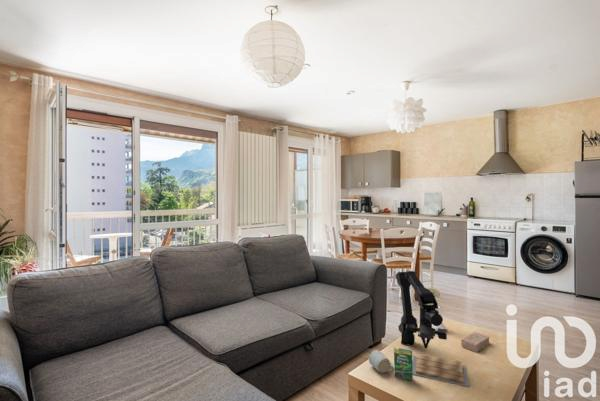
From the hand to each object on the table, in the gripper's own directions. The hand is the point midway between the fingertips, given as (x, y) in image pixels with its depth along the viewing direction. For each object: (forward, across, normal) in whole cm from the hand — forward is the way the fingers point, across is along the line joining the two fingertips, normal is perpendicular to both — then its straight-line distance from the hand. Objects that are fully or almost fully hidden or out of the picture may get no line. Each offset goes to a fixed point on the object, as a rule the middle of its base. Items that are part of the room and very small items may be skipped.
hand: (425, 348), depth 154 cm
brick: (+8, +24, +29) cm, 39 cm away
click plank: (+6, +6, -2) cm, 9 cm away
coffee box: (+8, -9, -17) cm, 21 cm away
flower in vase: (+7, +4, +43) cm, 43 cm away
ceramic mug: (+8, -19, -14) cm, 25 cm away
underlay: (+7, +6, -5) cm, 11 cm away
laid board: (+7, +6, -9) cm, 13 cm away
